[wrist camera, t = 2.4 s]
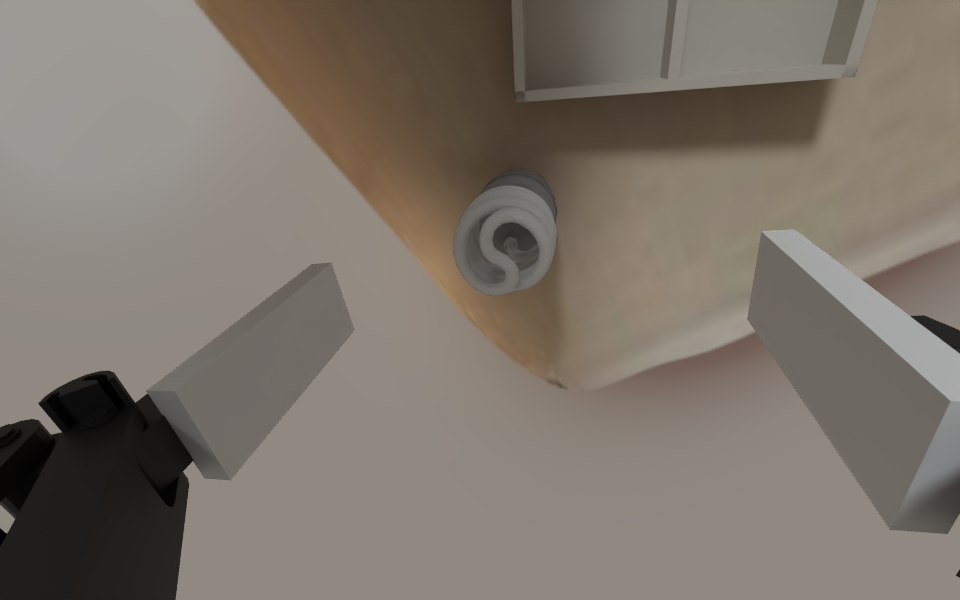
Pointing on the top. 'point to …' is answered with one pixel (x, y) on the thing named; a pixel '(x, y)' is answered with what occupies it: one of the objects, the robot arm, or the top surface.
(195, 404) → the robot arm
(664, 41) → the carton
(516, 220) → the light bulb
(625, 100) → the top surface
